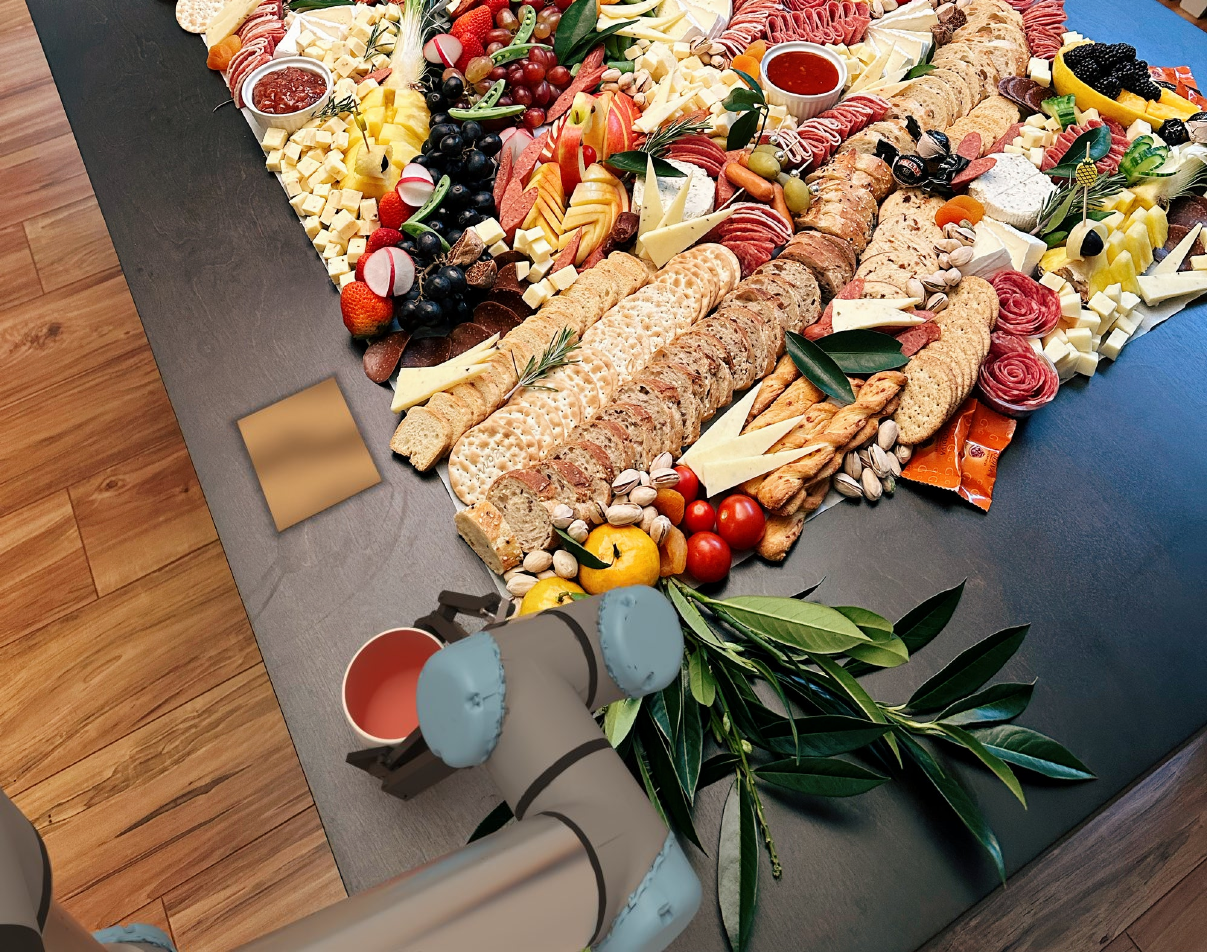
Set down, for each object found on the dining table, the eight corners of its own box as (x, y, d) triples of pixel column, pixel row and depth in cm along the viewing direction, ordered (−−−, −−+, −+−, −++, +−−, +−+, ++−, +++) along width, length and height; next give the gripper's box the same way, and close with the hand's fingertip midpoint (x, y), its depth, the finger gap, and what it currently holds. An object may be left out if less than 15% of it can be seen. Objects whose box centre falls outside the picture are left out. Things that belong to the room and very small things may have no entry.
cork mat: (381, 481, 129) (381, 480, 129) (278, 532, 125) (278, 531, 125) (334, 377, 139) (333, 376, 139) (237, 422, 135) (237, 421, 135)
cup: (476, 763, 106) (462, 725, 99) (368, 794, 105) (346, 757, 98) (460, 657, 113) (445, 614, 106) (358, 684, 112) (336, 642, 105)
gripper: (527, 837, 87) (370, 851, 101) (588, 555, 102) (445, 601, 116) (450, 801, 84) (299, 821, 98) (524, 516, 100) (385, 568, 113)
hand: (378, 701), depth 107 cm, fingers closed on cup, 10 cm apart
